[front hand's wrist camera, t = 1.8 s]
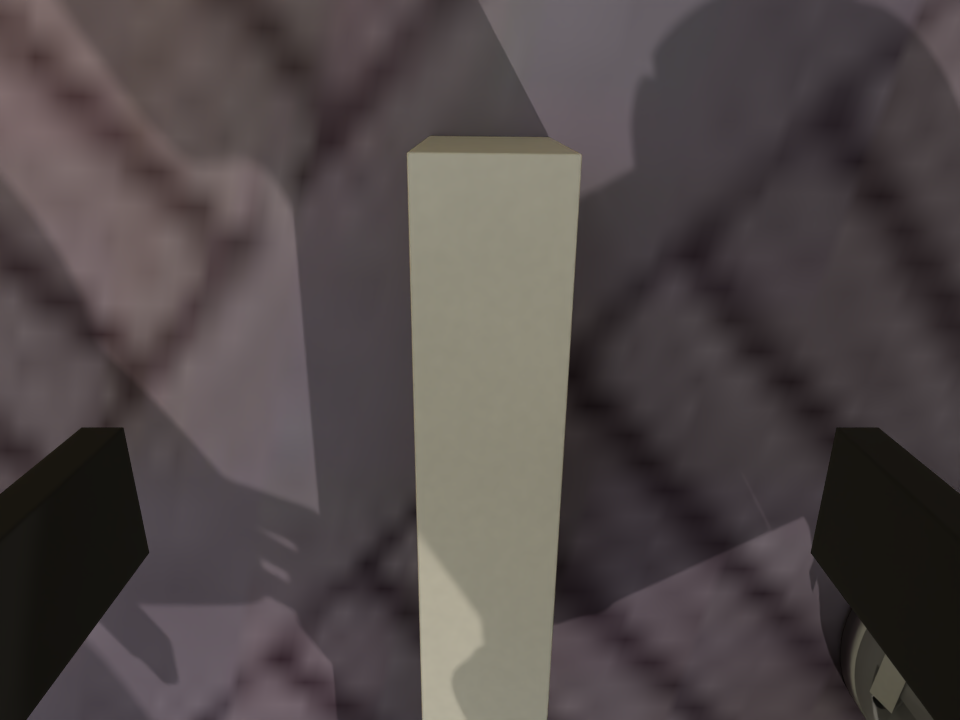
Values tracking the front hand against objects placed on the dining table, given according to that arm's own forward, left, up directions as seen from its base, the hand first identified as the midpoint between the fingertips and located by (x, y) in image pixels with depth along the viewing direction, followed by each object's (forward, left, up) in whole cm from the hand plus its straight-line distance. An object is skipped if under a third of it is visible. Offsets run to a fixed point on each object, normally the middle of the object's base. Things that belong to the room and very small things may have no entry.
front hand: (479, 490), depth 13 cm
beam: (-10, +17, -16) cm, 25 cm away
